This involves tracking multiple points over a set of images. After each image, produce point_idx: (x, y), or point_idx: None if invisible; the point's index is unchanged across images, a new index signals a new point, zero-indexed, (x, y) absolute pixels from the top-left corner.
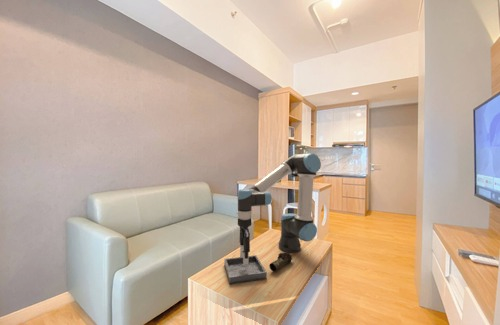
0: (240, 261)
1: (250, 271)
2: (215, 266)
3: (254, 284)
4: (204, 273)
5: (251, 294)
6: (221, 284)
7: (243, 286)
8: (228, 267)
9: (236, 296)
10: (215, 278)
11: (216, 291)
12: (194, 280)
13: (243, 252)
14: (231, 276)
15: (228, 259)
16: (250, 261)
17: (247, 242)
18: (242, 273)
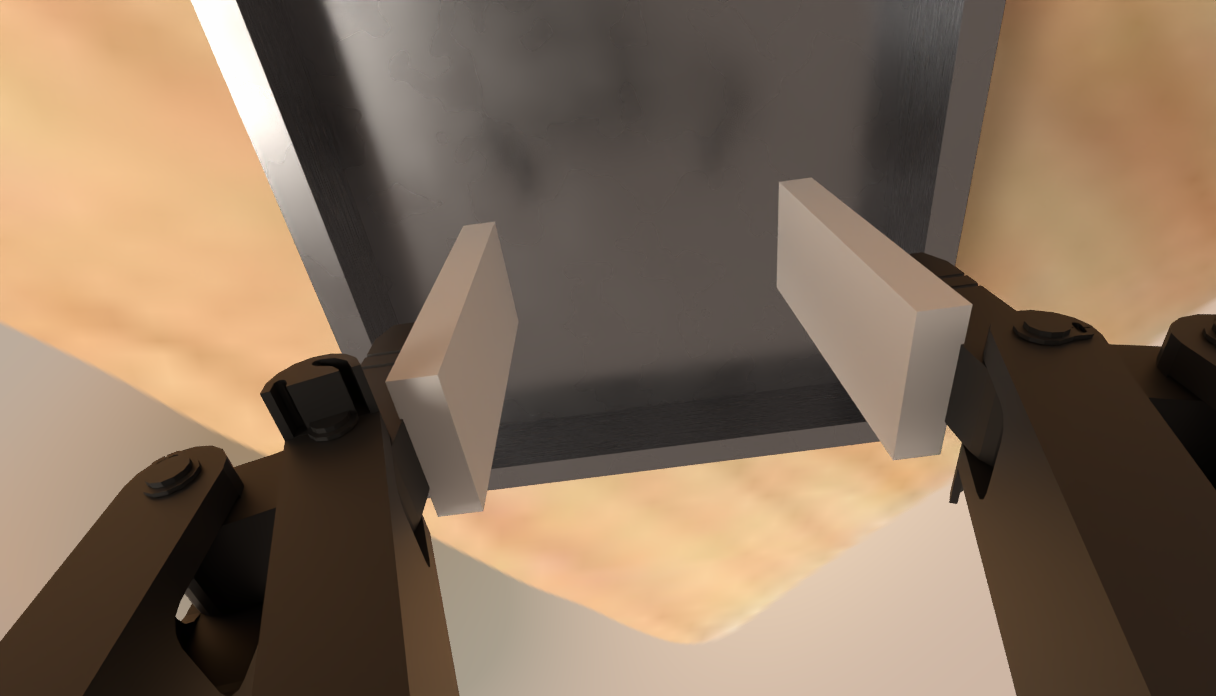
0: (364, 243)
1: (696, 85)
2: (463, 522)
3: (1009, 54)
4: (603, 593)
5: (1190, 135)
6: (842, 453)
7: (980, 225)
8: (666, 450)
9: (1115, 315)
10: (716, 506)
11: (938, 486)
12: (707, 639)
13: (913, 441)
14: None
15: None
16: (314, 31)
17: None
18: (729, 230)
